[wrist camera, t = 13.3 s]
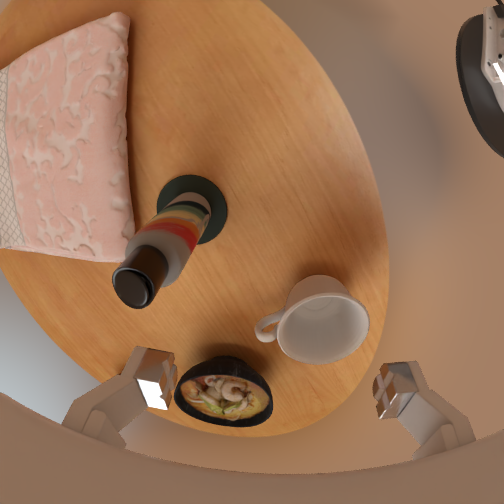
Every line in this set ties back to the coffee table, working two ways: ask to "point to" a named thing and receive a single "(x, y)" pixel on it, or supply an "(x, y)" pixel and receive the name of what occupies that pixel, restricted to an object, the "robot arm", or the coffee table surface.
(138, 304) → the lotion bottle
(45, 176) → the towel
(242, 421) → the bowl
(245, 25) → the coffee table surface
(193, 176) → the coaster
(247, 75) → the coffee table surface
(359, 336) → the teacup
